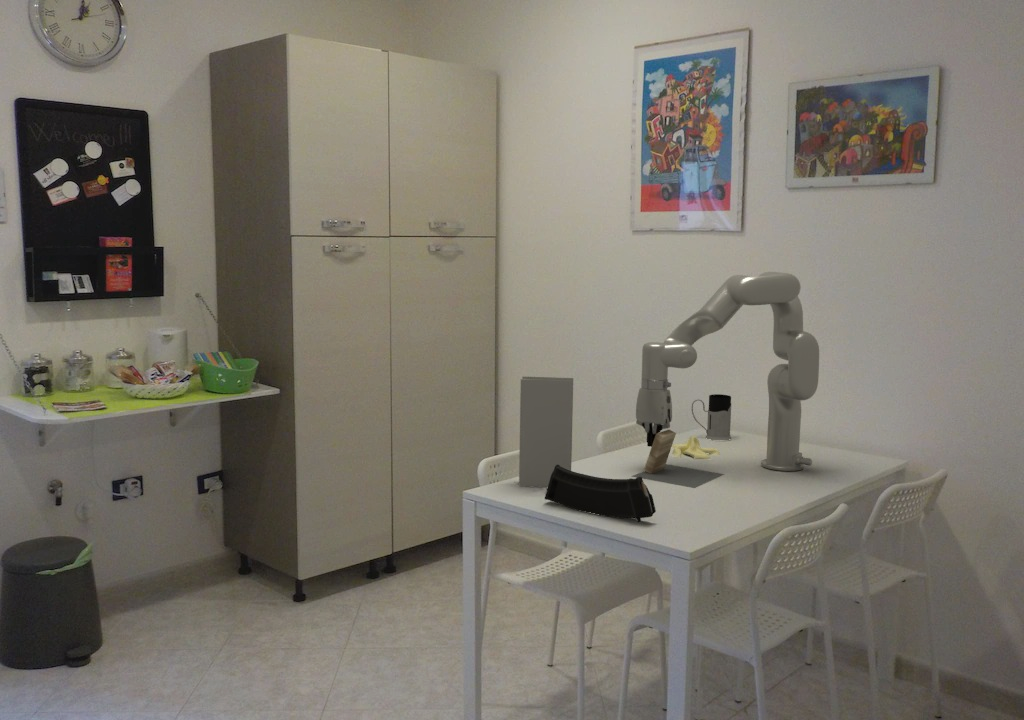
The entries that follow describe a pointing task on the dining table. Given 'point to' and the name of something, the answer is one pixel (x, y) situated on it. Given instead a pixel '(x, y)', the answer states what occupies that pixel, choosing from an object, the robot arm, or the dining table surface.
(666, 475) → the mat
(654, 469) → the tile
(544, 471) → the grey tall flat panel
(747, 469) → the dining table surface
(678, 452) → the cloth
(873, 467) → the dining table surface
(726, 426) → the glass holder
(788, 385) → the robot arm
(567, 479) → the magazine
